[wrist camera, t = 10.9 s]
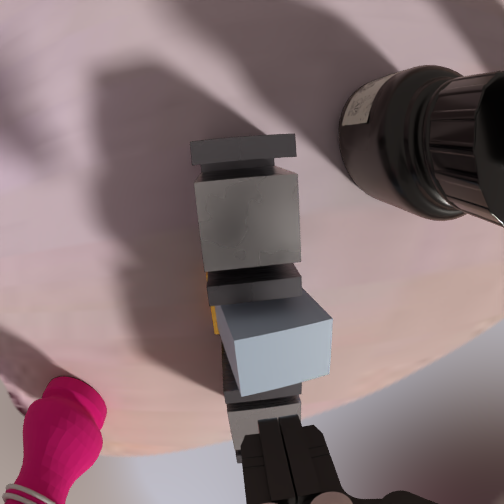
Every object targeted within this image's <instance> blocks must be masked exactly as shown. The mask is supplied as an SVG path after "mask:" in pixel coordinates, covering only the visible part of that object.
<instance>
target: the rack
mask: <svg viewBox="0 0 504 504" xmlns="http://www.w3.org/2000/svg"><path fill="white" fill-rule="evenodd" d="M190 148H191V159H192V165H199V164H201V174H200V175H199V177H198V178H197V179H196V181H195V182H194V188H195V197H196V206H197V215H198V224H199V232H200V240H201V248H202V256H203V263H204V271H205V272H206V278H207V292H208V299H209V306H211V313H212V320H213V326H214V333H215V334H220V333H219V330H218V325H217V319H216V312H215V306H218V305H228V304H238V303H247V302H256V301H265V300H273V299H281V298H290V297H297V296H302V282H301V275H300V274H299V272H298V270H297V269H296V267H295V266H294V264H293V263H294V262H301V242H300V215H299V193H298V174H296V173H294V172H291V171H288V170H285V169H282V168H279V167H276V166H274V158H281V157H297V156H296V141H295V134H275V135H258V136H244V137H232V138H221V139H211V140H201V141H193V142H190ZM222 367H223V391H224V397H225V402H226V404H227V413H228V418H229V424H230V429H231V434H232V439H233V444H234V449H235V450H236V458H237V463H242V457H241V447H240V446H241V444H242V441H243V439H244V436H245V435H250V434H259V431H258V421H257V420H261V419H269V418H276V417H277V419H278V417H282V416H288V415H295V414H298V416H299V419H300V422H301V401H300V397H299V394H301V389H302V382H300V383H297V384H293V385H289V386H285V387H281V388H277V389H273V390H269V391H265V392H261V393H256V394H252V395H248V396H243V397H241V394H240V391H239V389H238V386H237V383H236V380H235V377H234V374H233V372H232V369H231V366H230V363H229V360H228V357H227V354H226V351H225V348H224V345H223V342H222Z"/></svg>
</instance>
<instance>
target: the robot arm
mask: <svg viewBox="0 0 504 504" xmlns="http://www.w3.org/2000/svg"><path fill="white" fill-rule="evenodd" d="M257 421H258V431H259V434H250V435H245V436H244V439H243V441H242V444H241V446H240V447H241V457H242V466H243V475H244V483H245V493H246V502H247V504H437V503H435V502H432V501H430V500H427V499H424V498H422V497H420V496H417V495H415V494H412V493H410V492H407V491H395V492H391V493H389V494H388V495H386V496H385V497H384V498H383V499H358V498H354V497H352V496H350V495H348V494H347V493H346V492H345V491H344V490H343V489H342V487H341V484H340V481H339V478H338V475H337V473H336V470H335V467H334V464H333V461H332V459H331V456H330V453H329V450H328V447H327V445H326V442H325V439H324V436H323V434H322V433H321V432H320V431H319V430H318V429H317V428H316V427H315V426H314V425H310V426H304V427H302V426H301V422H300V419H299V416H298V414H295V415H288V416H282V417H278V419H277V417H276V418H269V419H261V420H257Z"/></svg>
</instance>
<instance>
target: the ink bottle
mask: <svg viewBox="0 0 504 504" xmlns="http://www.w3.org/2000/svg"><path fill="white" fill-rule="evenodd" d="M339 146H340V151H341V155H342V159H343V162H344V164H345V167H346V169H347V171H348V173H349V174H350V176H351V178H352V179H353V181H354V182H355V183H356V184H357V185H358V187H359V188H360V189H362V190H363V191H364V192H365V193H367V194H368V195H370V196H371V197H373V198H375V199H377V200H380V201H383V202H385V203H388V204H390V205H393V206H395V207H398V208H400V209H403V210H405V211H408V212H410V213H412V214H415V215H417V216H420V217H423V218H426V219H430V220H436V221H447V220H453V219H457V218H459V217H462V216H464V215H466V214H470V215H472V216H475V217H478V218H480V219H483V220H486V221H488V222H491V223H493V224H496V225H498V226H501V227H503V228H504V71H502V72H500V71H496V72H489V73H482V74H476V75H469V76H463V75H461V74H459V73H458V72H456V71H454V70H451V69H449V68H446V67H442V66H436V65H423V66H417V67H413V68H410V69H407V70H403V71H400V72H397V73H394V74H391V75H389V76H386V77H383V78H380V79H377V80H374V81H372V82H369V83H367V84H365V85H364V86H362V87H360V88H359V89H358V90H357V91H355V92H354V93H353V94H352V95H351V97H350V98H349V99H348V101H347V102H346V104H345V106H344V108H343V111H342V114H341V117H340V122H339Z"/></svg>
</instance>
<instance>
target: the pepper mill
mask: <svg viewBox="0 0 504 504" xmlns="http://www.w3.org/2000/svg"><path fill="white" fill-rule="evenodd" d="M106 414H107V409H106V405H105V402H104V401H103V399H102V398H101V396H100V395H99V394H98V393H97V392H96V391H95V390H94V389H93V388H92V387H90V386H89V385H87V384H86V383H84V382H82V381H80V380H78V379H75V378H72V377H65V376H63V377H57V378H54V379H52V380H51V381H50V383H49V384H48V386H47V387H46V389H45V391H44V393H43V396H42V399H38V400H36V401H34V402H33V403H32V404H31V405H30V407H29V408H28V411H27V413H26V416H25V419H24V425H23V447H24V458H23V465H22V468H21V471H20V474H19V476H18V478H17V479H16V481H15V483H14V484H8V485H7V486H6V493H4V494H3V496H2V498H3V500H4V502H5V504H65V501H66V497H67V495H68V492H69V489H70V487H71V486H72V484H73V483H74V481H75V480H76V479H77V478H79V476H81V475H82V474H83V473H84V472H85V471H86V470H88V469H89V468H90V467H91V466H92V465H93V464H94V462H95V461H96V460H97V458H98V456H99V453H100V451H101V449H102V444H103V440H102V435H101V432H100V430H101V428H102V426H103V424H104V421H105V417H106Z"/></svg>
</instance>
